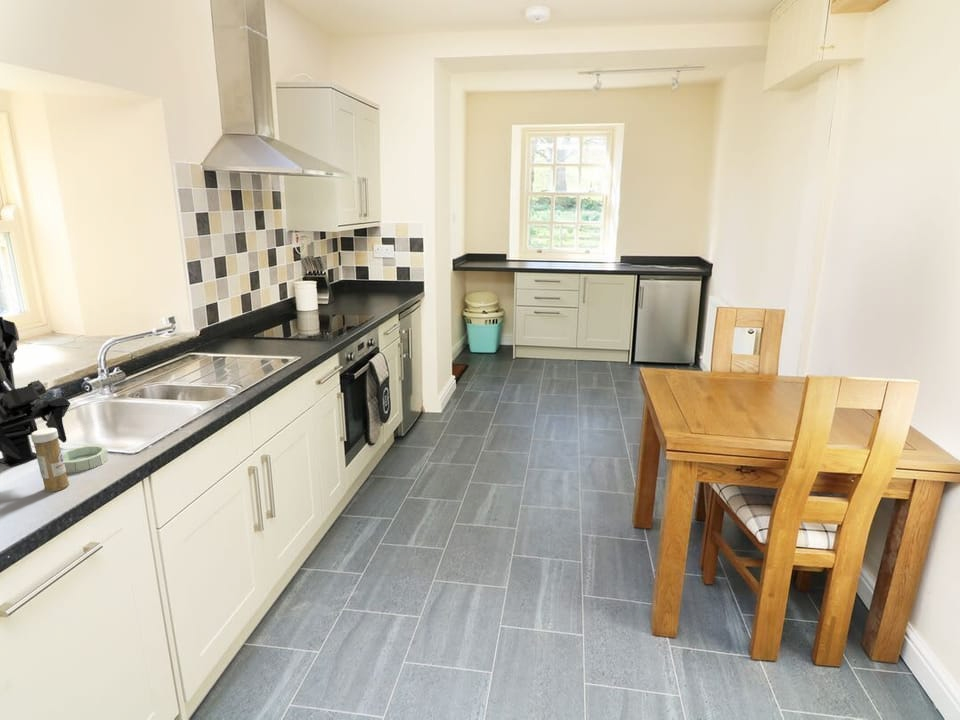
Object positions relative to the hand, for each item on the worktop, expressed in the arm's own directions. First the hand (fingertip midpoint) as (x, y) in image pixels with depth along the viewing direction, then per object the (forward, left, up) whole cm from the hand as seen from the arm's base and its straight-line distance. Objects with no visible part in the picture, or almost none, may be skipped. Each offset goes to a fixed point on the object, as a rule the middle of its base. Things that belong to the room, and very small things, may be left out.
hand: (43, 449), depth 125 cm
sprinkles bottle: (+1, 0, -9) cm, 9 cm away
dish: (-7, +10, -9) cm, 15 cm away
